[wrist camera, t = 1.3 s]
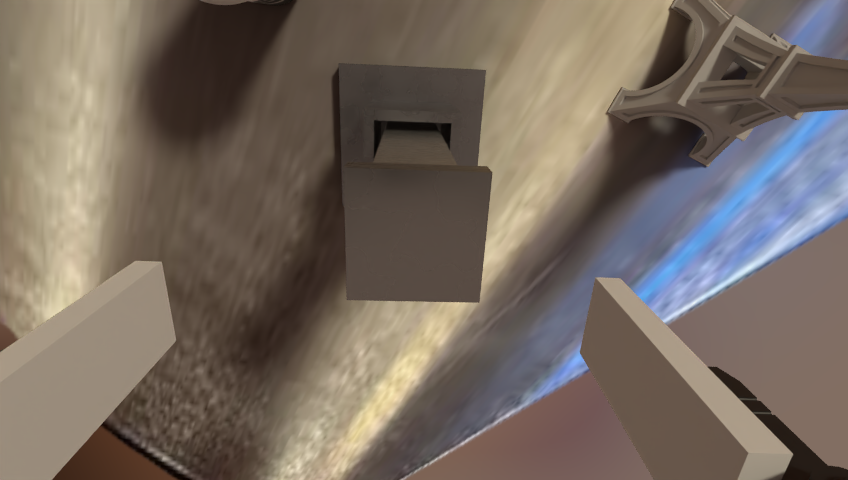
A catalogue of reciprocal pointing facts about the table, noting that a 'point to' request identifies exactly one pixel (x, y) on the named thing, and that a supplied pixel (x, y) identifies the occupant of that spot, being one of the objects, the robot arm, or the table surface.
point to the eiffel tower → (736, 81)
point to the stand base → (409, 107)
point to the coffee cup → (236, 0)
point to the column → (415, 220)
